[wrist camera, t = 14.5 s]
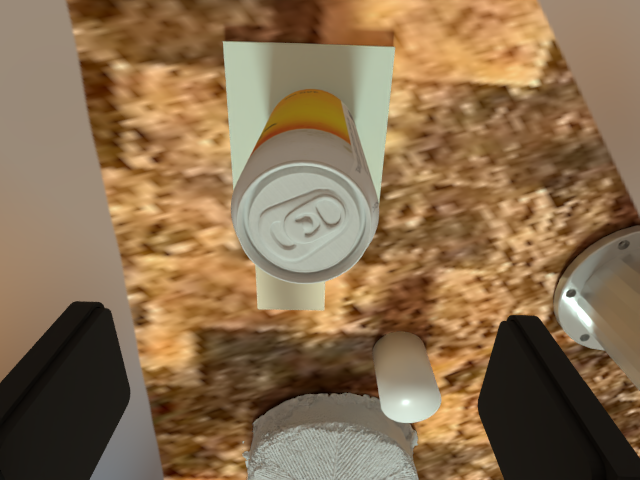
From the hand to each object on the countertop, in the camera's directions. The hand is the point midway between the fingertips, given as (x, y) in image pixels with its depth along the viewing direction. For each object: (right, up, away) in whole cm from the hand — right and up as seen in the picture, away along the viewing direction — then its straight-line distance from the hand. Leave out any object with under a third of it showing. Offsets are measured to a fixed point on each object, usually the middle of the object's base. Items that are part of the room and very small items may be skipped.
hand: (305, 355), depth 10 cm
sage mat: (-1, +11, +20) cm, 23 cm away
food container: (+1, -21, +37) cm, 43 cm away
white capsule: (+8, -8, +30) cm, 32 cm away
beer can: (0, +10, +19) cm, 22 cm away
